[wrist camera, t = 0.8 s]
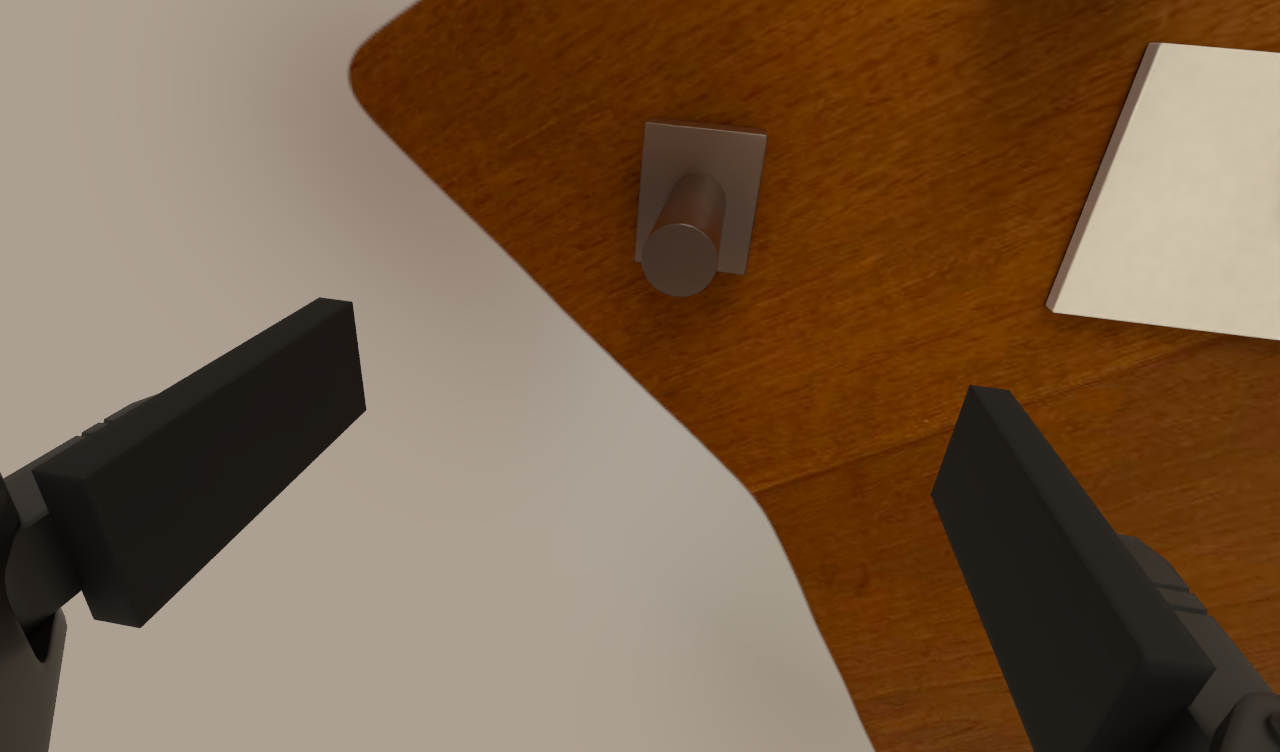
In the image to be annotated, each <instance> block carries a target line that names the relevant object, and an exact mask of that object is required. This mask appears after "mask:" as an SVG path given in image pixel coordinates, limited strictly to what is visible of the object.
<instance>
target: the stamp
mask: <svg viewBox="0 0 1280 752" xmlns="http://www.w3.org/2000/svg"><path fill="white" fill-rule="evenodd" d="M767 138H768V135H767V130H766V129H762V128H753V127H743V126H733V125H724V124H714V123H704V122H695V121H685V120H675V119H666V118H656V117H651V118H650V119H648V120H647V121H646V122H645V126H644V139H643V152H642V165H641V177H640V190H639V203H638V216H637V228H636V241H635V254H634V261H635V262H642V267H643V271H644V273H645V276H646V277H647V279H648V281H649V282H650V283H651V284H652V285H653V286H654V287H655V288H656V289H657V290H659V291H661V292H662V293H665V294H667V295H670V296H675V297H685V296H690V295H694V294H696V293H698V292H700V291H702V290H703V289H704V288H705V287H707V286H708V285H709V283H710V282H711V281H712V279H713V277H714V276H715V273H716V272H724V273H732V274H740V275H745V274H746V267H747V261H748V255H749V249H750V243H751V237H752V231H753V224H754V218H755V212H756V206H757V200H758V194H759V187H760V181H761V175H762V169H763V163H764V157H765V150H766V144H767Z"/></svg>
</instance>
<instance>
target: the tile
mask: <svg viewBox="0 0 1280 752" xmlns="http://www.w3.org/2000/svg"><path fill="white" fill-rule="evenodd" d="M1046 307H1047V308H1049V309H1050V310H1051V311H1052V312H1053V313H1061V314H1070V315H1078V316H1086V317H1094V318H1102V319H1110V320H1118V321H1126V322H1134V323H1142V324H1151V325H1159V326H1167V327H1175V328H1183V329H1191V330H1199V331H1207V332H1215V333H1224V334H1232V335H1240V336H1248V337H1256V338H1264V339H1272V340H1280V53H1276V52H1264V51H1253V50H1241V49H1230V48H1218V47H1207V46H1196V45H1184V44H1173V43H1158V42H1151V43H1149V44H1148V46H1147V49H1146V51H1145V54H1144V56H1143V59H1142V61H1141V64H1140V66H1139V69H1138V72H1137V74H1136V77H1135V79H1134V82H1133V84H1132V87H1131V89H1130V92H1129V94H1128V97H1127V99H1126V102H1125V104H1124V107H1123V110H1122V112H1121V115H1120V117H1119V120H1118V122H1117V125H1116V127H1115V130H1114V132H1113V135H1112V137H1111V140H1110V142H1109V145H1108V147H1107V150H1106V153H1105V155H1104V158H1103V160H1102V163H1101V165H1100V168H1099V170H1098V173H1097V175H1096V178H1095V180H1094V183H1093V185H1092V188H1091V191H1090V193H1089V196H1088V198H1087V201H1086V203H1085V206H1084V208H1083V211H1082V213H1081V216H1080V218H1079V221H1078V223H1077V226H1076V229H1075V231H1074V234H1073V236H1072V239H1071V241H1070V244H1069V246H1068V249H1067V251H1066V254H1065V256H1064V259H1063V261H1062V264H1061V266H1060V269H1059V272H1058V274H1057V277H1056V279H1055V282H1054V284H1053V287H1052V289H1051V292H1050V294H1049V297H1048V299H1047V302H1046Z"/></svg>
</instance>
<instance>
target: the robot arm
mask: <svg viewBox="0 0 1280 752" xmlns="http://www.w3.org/2000/svg"><path fill="white" fill-rule="evenodd" d="M360 366H361V365H360V358H359V350H358V342H357V335H356V327H355V319H354V311H353V303H352V302H349V301H342V300H334V299H326V298H318V299H316V300H314V301H313V302H311V303H309V304H308V305H306V306H304V307H303V308H301V309H300V310H298V311H296V312H294V313H293V314H291V315H289V316H288V317H286V318H284V319H283V320H281V321H279V322H278V323H276V324H274V325H273V326H271V327H269V328H268V329H266V330H264V331H263V332H261V333H259V334H258V335H256V336H254V337H253V338H251V339H249V340H248V341H246V342H244V343H243V344H241V345H239V346H238V347H236V348H234V349H233V350H231V351H229V352H228V353H226V354H224V355H223V356H221V357H219V358H218V359H216V360H214V361H212V362H211V363H209V364H208V365H206V366H204V367H203V368H201V369H199V370H197V371H196V372H194V373H192V374H191V375H189V376H188V377H186V378H184V379H182V380H181V381H179V382H178V383H176V384H174V385H173V386H171V387H169V388H167V389H166V390H164V391H163V392H161V393H159V394H157V395H154V396H151V397H148V398H146V399H143V400H140V401H137V402H134V403H132V404H130V405H128V406H126V407H125V408H123V409H121V410H120V411H118V412H116V413H114V414H113V415H111V416H109V417H108V418H106V419H104V423H97V424H96V425H94V426H92V427H90V428H89V429H87V430H85V431H84V432H82V436H75V437H74V438H72V439H70V440H68V441H67V442H65V443H63V444H62V445H60V446H58V447H56V448H55V449H53V450H51V451H50V452H48V453H46V454H45V455H43V456H41V457H39V458H38V459H36V460H34V461H33V462H31V463H29V464H28V465H26V466H24V467H22V468H21V469H19V470H17V471H16V472H14V473H12V474H11V475H9V476H7V477H5V478H4V479H3V478H2V475H1V473H0V752H48V749H49V742H50V736H51V728H52V722H53V716H54V709H55V703H56V696H57V690H58V683H59V677H60V670H61V664H62V657H63V650H64V644H65V637H66V631H67V624H66V620H65V616H64V613H63V611H62V609H61V607H62V606H63V605H64V604H65V603H66V602H68V601H69V600H70V599H71V598H73V597H74V596H75V595H76V594H78V593H79V592H80V591H81V590H82V592H83V595H84V597H85V599H86V601H87V604H88V606H89V609H90V611H91V613H92V616H93V618H94V619H95V620H100V621H106V622H111V623H116V624H121V625H127V626H132V627H137V628H141V627H142V626H143V625H144V624H145V623H146V622H147V621H148V620H149V619H150V618H151V617H153V615H154V614H156V612H158V611H159V610H160V609H161V608H162V607H163V606H164V605H165V604H166V603H167V602H168V601H169V600H170V599H171V598H172V597H173V596H174V595H175V594H176V593H177V592H178V591H179V590H180V589H181V588H182V587H183V586H185V585H186V584H187V583H188V582H189V581H190V580H191V579H192V578H193V577H194V576H195V575H196V574H197V573H198V572H199V571H200V570H201V569H202V568H203V567H204V566H205V565H206V564H207V563H208V562H209V561H210V560H211V559H213V558H214V557H215V556H216V555H217V554H218V553H219V552H220V551H221V550H222V549H223V548H224V547H225V546H226V545H227V544H228V543H229V542H230V541H231V540H232V539H233V538H234V537H235V536H236V535H237V534H238V533H239V532H240V531H241V530H242V529H244V528H245V526H247V525H248V524H249V523H250V522H251V521H252V520H253V519H254V518H255V517H256V516H257V515H258V514H259V513H260V512H261V511H262V510H263V509H264V508H265V507H266V506H267V505H268V504H269V503H270V502H272V500H274V499H275V498H276V497H277V496H278V495H279V494H280V493H281V492H282V491H283V490H284V489H285V488H286V487H287V486H288V485H289V484H290V483H291V482H292V481H293V480H294V479H295V478H296V477H297V476H298V475H299V474H300V473H301V472H303V471H304V470H305V469H306V468H307V467H308V466H309V465H310V464H311V463H312V461H314V460H315V459H316V458H317V457H318V456H319V455H320V454H321V453H322V452H323V451H324V450H325V449H326V448H327V447H328V446H329V445H331V443H332V442H334V441H335V440H336V439H337V438H338V437H339V436H340V435H341V434H342V433H343V432H344V431H345V430H346V429H347V428H348V427H349V426H350V425H351V424H352V423H353V422H354V421H355V420H356V419H357V418H358V417H359V416H360V415H362V414H363V413H364V412H365V411H366V405H365V398H364V389H363V381H362V373H361V367H360ZM931 496H932V499H933V501H934V504H935V506H936V509H937V511H938V514H939V516H940V519H941V521H942V524H943V526H944V529H945V531H946V534H947V536H948V538H949V541H950V543H951V546H952V548H953V551H954V553H955V556H956V558H957V561H958V563H959V566H960V568H961V571H962V573H963V576H964V578H965V581H966V583H967V586H968V588H969V591H970V593H971V596H972V598H973V601H974V603H975V606H976V608H977V611H978V613H979V616H980V618H981V621H982V623H983V625H984V628H985V630H986V633H987V635H988V638H989V640H990V643H991V645H992V648H993V650H994V653H995V655H996V658H997V660H998V663H999V665H1000V668H1001V670H1002V673H1003V675H1004V678H1005V680H1006V683H1007V685H1008V688H1009V690H1010V693H1011V695H1012V698H1013V700H1014V703H1015V705H1016V707H1017V710H1018V712H1019V715H1020V717H1021V720H1022V722H1023V725H1024V727H1025V730H1026V732H1027V735H1028V737H1029V740H1030V742H1031V745H1032V747H1033V750H1034V752H1280V695H1276V694H1274V692H1273V691H1272V690H1271V689H1270V687H1269V686H1268V685H1267V684H1266V682H1265V681H1264V680H1263V679H1262V677H1261V676H1260V675H1259V674H1258V672H1257V671H1256V670H1255V669H1254V667H1253V666H1252V665H1251V664H1250V663H1249V661H1248V660H1247V659H1246V658H1245V656H1244V655H1243V654H1242V653H1241V651H1240V650H1239V649H1238V648H1237V646H1236V645H1235V644H1234V643H1233V641H1232V640H1231V639H1230V638H1229V636H1228V635H1227V634H1226V633H1225V632H1224V630H1223V629H1222V628H1221V627H1220V625H1219V624H1218V623H1217V622H1216V620H1215V619H1214V618H1213V617H1212V616H1209V615H1207V609H1206V608H1205V607H1204V605H1203V604H1202V603H1201V602H1200V600H1199V599H1198V598H1197V597H1196V596H1195V594H1194V593H1190V592H1189V589H1190V588H1189V587H1188V586H1187V584H1186V583H1185V582H1184V581H1183V579H1182V578H1181V577H1180V576H1179V574H1178V573H1177V572H1176V571H1175V569H1174V568H1173V567H1172V566H1171V565H1170V563H1169V562H1168V561H1167V560H1165V559H1164V558H1163V557H1161V556H1160V555H1159V554H1158V553H1156V552H1155V551H1154V550H1152V549H1151V548H1150V547H1149V546H1147V545H1146V544H1145V543H1143V542H1142V541H1141V540H1139V539H1138V538H1137V537H1133V536H1126V535H1119V534H1116V533H1115V531H1114V530H1113V529H1112V527H1111V526H1110V525H1109V523H1108V522H1107V521H1106V519H1105V518H1104V517H1103V515H1102V514H1101V513H1100V511H1099V510H1098V508H1097V507H1096V506H1095V504H1094V503H1093V502H1092V500H1091V499H1090V498H1089V496H1088V495H1087V494H1086V492H1085V491H1084V490H1083V488H1082V487H1081V486H1080V484H1079V483H1078V482H1077V480H1076V479H1075V478H1074V476H1073V475H1072V474H1071V472H1070V471H1069V470H1068V468H1067V467H1066V466H1065V464H1064V463H1063V462H1062V460H1061V459H1060V458H1059V456H1058V455H1057V454H1056V452H1055V451H1054V450H1053V448H1052V447H1051V446H1050V444H1049V443H1048V442H1047V440H1046V439H1045V438H1044V436H1043V435H1042V434H1041V432H1040V431H1039V429H1038V428H1037V427H1036V425H1035V424H1034V423H1033V421H1032V420H1031V419H1030V417H1029V416H1028V415H1027V413H1026V412H1025V411H1024V409H1023V408H1022V407H1021V405H1020V404H1019V403H1018V401H1017V400H1016V399H1015V397H1014V396H1013V395H1012V393H1011V392H1010V391H1009V390H1003V389H996V388H988V387H981V386H973V385H970V386H969V389H968V391H967V394H966V397H965V400H964V403H963V406H962V408H961V411H960V414H959V417H958V420H957V422H956V425H955V428H954V431H953V434H952V437H951V439H950V442H949V445H948V448H947V451H946V454H945V456H944V459H943V462H942V465H941V468H940V470H939V473H938V476H937V479H936V482H935V485H934V487H933V490H932V493H931Z"/></svg>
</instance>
